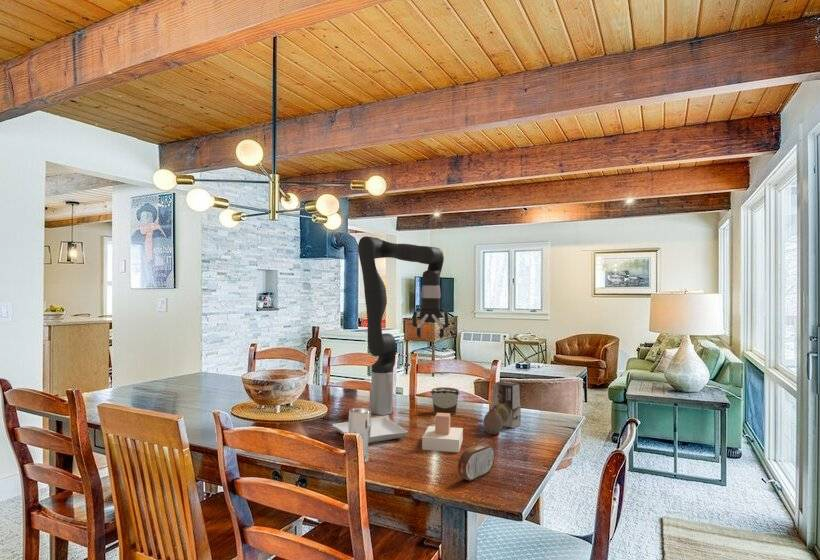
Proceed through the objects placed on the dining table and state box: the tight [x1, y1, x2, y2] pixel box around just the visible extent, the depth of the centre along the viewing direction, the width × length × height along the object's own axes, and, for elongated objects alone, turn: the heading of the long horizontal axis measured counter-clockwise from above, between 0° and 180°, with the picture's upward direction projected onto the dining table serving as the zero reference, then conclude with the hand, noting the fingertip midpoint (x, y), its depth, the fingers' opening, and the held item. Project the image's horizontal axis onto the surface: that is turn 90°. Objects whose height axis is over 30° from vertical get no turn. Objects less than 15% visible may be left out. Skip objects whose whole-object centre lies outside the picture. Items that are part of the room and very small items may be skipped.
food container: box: [430, 386, 460, 415], centre depth 211 cm, size 12×6×10 cm, turn 84°
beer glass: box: [347, 407, 372, 463], centre depth 150 cm, size 7×7×15 cm
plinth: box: [421, 425, 464, 453], centre depth 166 cm, size 12×14×4 cm
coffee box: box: [492, 380, 522, 429], centre depth 192 cm, size 9×6×16 cm
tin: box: [457, 442, 496, 482], centre depth 138 cm, size 15×3×8 cm, turn 137°
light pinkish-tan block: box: [434, 413, 451, 435], centre depth 166 cm, size 4×4×6 cm
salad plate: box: [331, 416, 409, 444], centre depth 175 cm, size 21×21×3 cm
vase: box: [482, 407, 503, 435], centre depth 180 cm, size 7×7×9 cm
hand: (430, 338), depth 195 cm, fingers open, 8 cm apart
